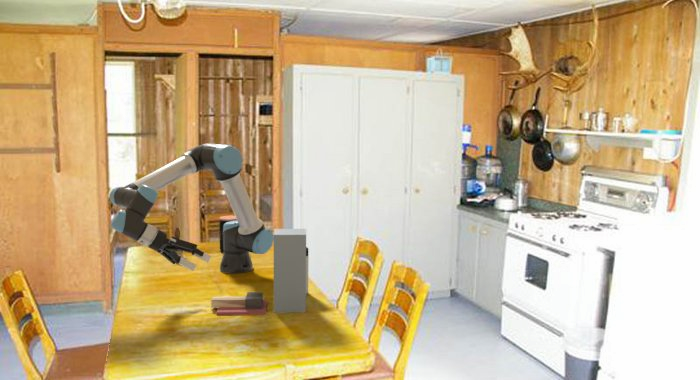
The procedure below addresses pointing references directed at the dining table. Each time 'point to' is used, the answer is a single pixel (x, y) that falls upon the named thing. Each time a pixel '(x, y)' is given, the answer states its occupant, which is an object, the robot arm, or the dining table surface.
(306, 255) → the travel mug
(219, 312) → the mat
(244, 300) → the stamp
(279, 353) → the dining table surface
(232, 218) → the coffee jar
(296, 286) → the pedestal
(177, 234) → the hand bell
